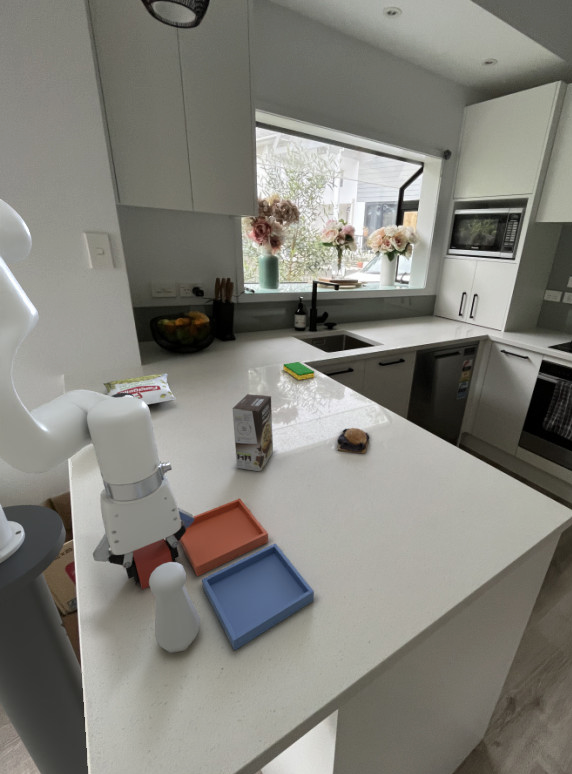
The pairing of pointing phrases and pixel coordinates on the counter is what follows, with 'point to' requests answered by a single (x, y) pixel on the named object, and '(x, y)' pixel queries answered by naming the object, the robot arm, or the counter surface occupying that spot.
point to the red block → (150, 560)
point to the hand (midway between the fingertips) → (154, 568)
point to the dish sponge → (298, 370)
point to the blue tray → (256, 594)
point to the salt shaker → (173, 608)
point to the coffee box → (253, 431)
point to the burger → (353, 440)
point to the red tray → (222, 536)
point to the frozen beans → (143, 388)
